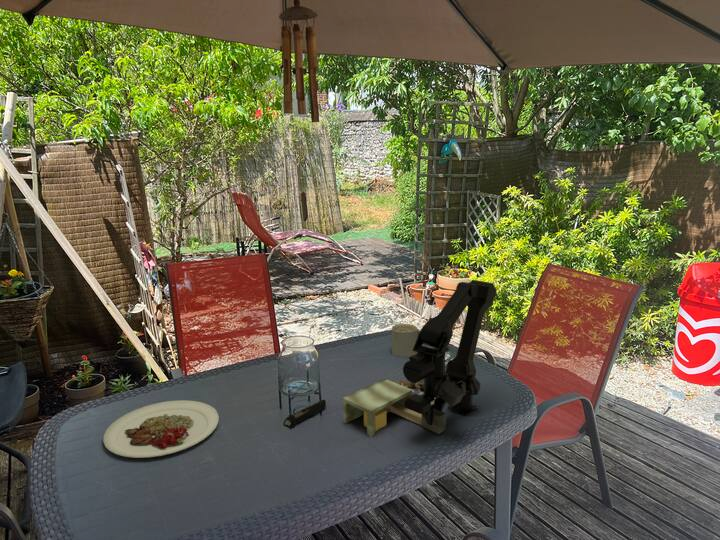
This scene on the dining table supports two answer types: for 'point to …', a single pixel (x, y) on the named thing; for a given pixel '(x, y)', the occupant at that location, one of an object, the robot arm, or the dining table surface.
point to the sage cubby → (373, 401)
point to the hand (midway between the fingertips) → (433, 422)
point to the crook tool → (420, 417)
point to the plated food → (161, 429)
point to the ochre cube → (377, 419)
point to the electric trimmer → (304, 414)
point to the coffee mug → (404, 339)
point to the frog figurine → (410, 385)
